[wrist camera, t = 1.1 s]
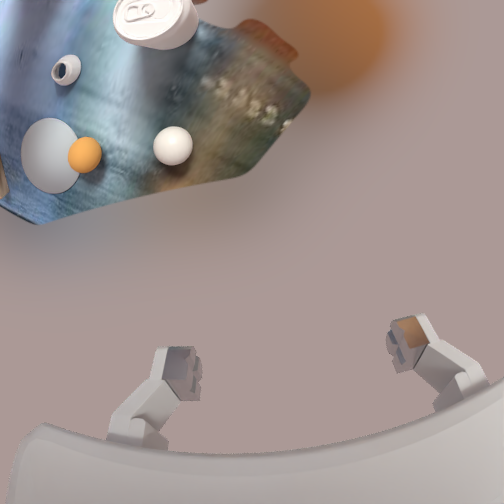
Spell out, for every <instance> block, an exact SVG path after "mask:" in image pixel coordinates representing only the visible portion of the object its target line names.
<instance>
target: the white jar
mask: <svg viewBox="0 0 504 504" xmlns="http://www.w3.org/2000/svg"><path fill="white" fill-rule="evenodd" d="M61 63H64V64H65V65H66V69H65V72H66V74H65V76H64V77H63V78H62V79H60V77H59V73H58V72H59V67H60V65H61ZM80 70H81V62H80V60H79V58H78V57H77V56H75V55H66V56H64V57H62V58H61V59H60V60H59V61H58V62H57V63H56V64H55V65H54V67H53V69H52V72H51V75H52V78H53V79H54V80H55V82H56V83H58V84H60V85H69V84H71V83H73V82H74V81H75V80H76V79H77V78H78V76H79V74H80Z"/></svg>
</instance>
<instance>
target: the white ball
mask: <svg viewBox="0 0 504 504" xmlns="http://www.w3.org/2000/svg"><path fill="white" fill-rule="evenodd" d="M192 148H193V142H192V138H191V136H190V134H189V133H188V132H187V131H186V130H185V129H183V128H180V127H175V126H173V127H168V128H165V129H163V130H162V131H161V132H160V133H159V134H158V135H157V136H156V138H155V140H154V145H153V149H154V153H155V156H156V157H157V159H158V160H159V161H161V162H162V163H164V164H167V165H177V164H180V163H182V162H184V161H185V160H186V159H187V158H188V157H189V156H190V154H191V152H192Z"/></svg>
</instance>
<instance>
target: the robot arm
mask: <svg viewBox="0 0 504 504" xmlns="http://www.w3.org/2000/svg"><path fill="white" fill-rule="evenodd" d="M390 327H391V330H390V331H389V332H388V333H387V336H386V346H387V350H388V352H389V354H391V355H392V356H394V357H393V360H392V362H393V365H394V367H395V370H396V372H397V373H400V372H404V371H408V370H412V369H413V370H414V371H415V372H416V373H417V374H418V375H420V376H421V377H422V378H423V379H424V380H425V381H426V382H428V383H429V384H430V385H431V386H432V387H433V388H434V389H436V390H437V391H438V392H439V393H440V394H439V395H438V397H437V398H436V399H435V400H434V402H433V406H434V409H435V413H433V414H430V415H428V416H425V417H423V418H420V419H418V420H415V421H412V422H409V423H407V424H403V425H401V426H398V427H395V428H392V429H388V430H385V431H382V432H378V433H375V434H371V435H367V436H364V437H359V438H355V439H351V440H347V441H342V442H337V443H332V444H327V445H322V446H316V447H310V448H303V449H296V450H286V451H276V452H264V453H244V454H207V453H188V452H175V451H168V443H169V441H168V440H167V438H165V437H164V436H163V435H161V434H160V433H159V431H160V429H161V428H162V427H163V425H164V424H165V423H166V421H167V420H168V419H169V417H170V416H171V414H172V413H173V412H174V410H175V409H176V408H177V406H178V405H179V403H180V401H199V400H200V391H201V386H200V384H199V383H198V382H199V381H200V380H201V378H202V364H201V360H200V358H199V357H198V356H196V350H195V348H194V346H191V347H189V346H187V347H158V348H157V350H156V353H155V357H154V361H153V365H152V369H151V373H150V378H149V379H146V380H145V381H144V382H143V383H142V384H141V385H140V386H139V387H138V388H137V389H136V390H135V391H134V392H133V393H132V394H131V395H130V396H129V397H128V398H127V399H126V400H125V401H124V402H123V404H121V405H120V406H119V407H118V408H117V410H115V411H114V412H113V414H112V417H111V422H110V425H109V429H108V434H107V438H106V440H102V439H98V438H94V437H90V436H86V435H83V434H79V433H76V432H72V431H70V430H66V429H63V428H60V427H57V426H55V425H52V424H49V423H42V424H40V425H38V426H37V427H36V428H35V429H33V430H32V431H31V432H30V433H28V434H27V435H26V436H25V437H24V438H23V439H22V441H21V443H20V445H19V447H18V449H17V452H16V455H15V459H14V462H13V466H12V470H11V474H10V478H9V484H8V489H7V497H6V504H504V377H503V378H501V379H499V380H498V381H496V382H494V383H493V384H491V385H490V384H489V382H488V380H487V378H486V376H485V374H484V372H483V370H482V368H481V366H480V364H479V363H478V362H476V361H475V360H474V359H472V358H470V357H469V356H467V355H466V354H464V353H463V352H461V351H459V350H458V349H457V348H455V347H453V346H452V345H450V344H449V343H447V342H445V341H444V340H439V338H438V336H437V334H436V332H435V331H434V329H433V327H432V326H431V324H430V322H429V320H428V318H427V317H426V315H425V314H424V313H420V314H416V315H413V316H407V317H403V318H400V319H395V320H393V321H392V322H391V325H390Z"/></svg>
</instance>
